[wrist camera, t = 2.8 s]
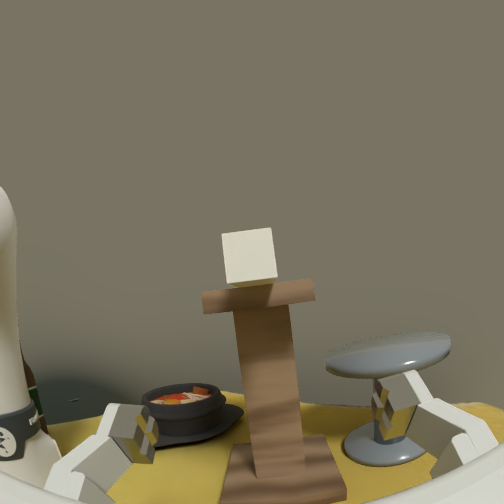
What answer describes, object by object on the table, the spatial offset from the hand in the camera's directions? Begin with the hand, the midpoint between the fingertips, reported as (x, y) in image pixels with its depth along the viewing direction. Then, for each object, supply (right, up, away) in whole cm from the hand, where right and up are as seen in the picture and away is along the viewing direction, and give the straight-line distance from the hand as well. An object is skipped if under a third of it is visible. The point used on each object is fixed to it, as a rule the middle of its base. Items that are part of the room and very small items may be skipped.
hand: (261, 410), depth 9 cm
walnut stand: (+4, -24, +22) cm, 33 cm away
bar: (0, +2, +20) cm, 20 cm away
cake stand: (+20, -23, +25) cm, 40 cm away
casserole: (-13, -30, +41) cm, 52 cm away
